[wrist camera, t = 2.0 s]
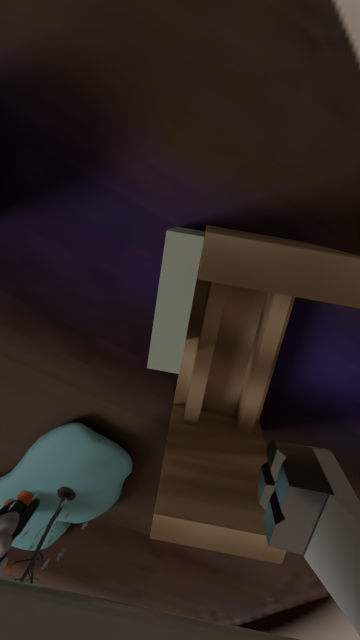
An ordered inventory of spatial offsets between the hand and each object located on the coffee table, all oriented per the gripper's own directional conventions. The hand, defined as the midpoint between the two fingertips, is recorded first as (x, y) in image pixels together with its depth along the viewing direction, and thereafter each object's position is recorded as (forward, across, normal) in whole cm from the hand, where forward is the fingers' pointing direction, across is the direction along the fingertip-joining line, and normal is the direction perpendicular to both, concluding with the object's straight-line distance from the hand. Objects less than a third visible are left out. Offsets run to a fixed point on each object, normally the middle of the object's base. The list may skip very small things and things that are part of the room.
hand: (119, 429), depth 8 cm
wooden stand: (+18, -5, +3) cm, 20 cm away
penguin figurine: (+19, +10, +23) cm, 32 cm away
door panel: (+18, 0, -1) cm, 19 cm away
